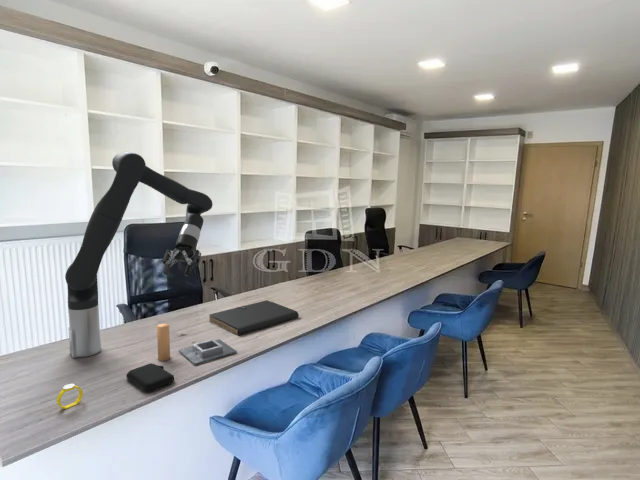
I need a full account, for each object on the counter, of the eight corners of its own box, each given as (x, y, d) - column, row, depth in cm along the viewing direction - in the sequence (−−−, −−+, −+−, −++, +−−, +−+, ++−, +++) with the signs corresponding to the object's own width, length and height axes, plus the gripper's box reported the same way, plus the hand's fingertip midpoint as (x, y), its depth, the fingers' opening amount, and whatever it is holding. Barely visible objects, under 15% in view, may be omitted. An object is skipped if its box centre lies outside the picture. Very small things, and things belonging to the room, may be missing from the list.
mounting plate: (194, 365, 130) (194, 357, 129) (178, 351, 140) (178, 344, 140) (236, 353, 140) (236, 345, 140) (219, 341, 151) (219, 334, 150)
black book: (266, 299, 196) (298, 311, 179) (266, 307, 196) (298, 319, 180) (208, 313, 172) (239, 328, 156) (208, 322, 173) (239, 338, 156)
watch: (61, 413, 102) (58, 393, 101) (56, 410, 103) (53, 390, 102) (85, 401, 107) (82, 382, 106) (80, 398, 108) (77, 379, 107)
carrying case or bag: (180, 382, 119) (156, 367, 129) (180, 373, 119) (156, 359, 128) (146, 396, 111) (124, 379, 120) (146, 386, 111) (123, 370, 120)
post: (160, 361, 132) (159, 328, 130) (156, 357, 135) (155, 325, 133) (171, 358, 135) (170, 326, 133) (167, 354, 138) (166, 322, 136)
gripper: (167, 233, 149) (153, 270, 141) (200, 233, 146) (188, 270, 138) (176, 243, 155) (163, 279, 147) (209, 243, 152) (197, 280, 144)
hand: (175, 275), depth 142 cm, fingers open, 8 cm apart
